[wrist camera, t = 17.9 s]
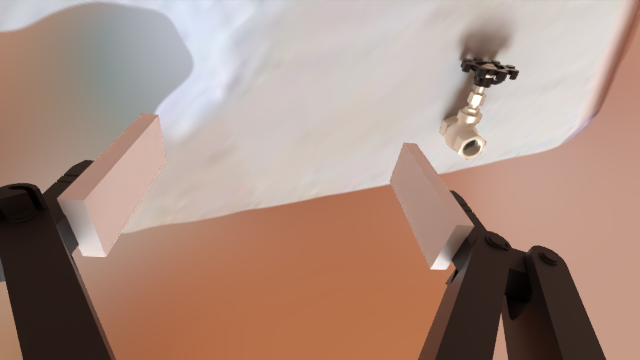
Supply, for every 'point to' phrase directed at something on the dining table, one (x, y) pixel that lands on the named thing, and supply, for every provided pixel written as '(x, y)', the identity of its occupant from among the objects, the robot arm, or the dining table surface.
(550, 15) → the dining table surface
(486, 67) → the valve
